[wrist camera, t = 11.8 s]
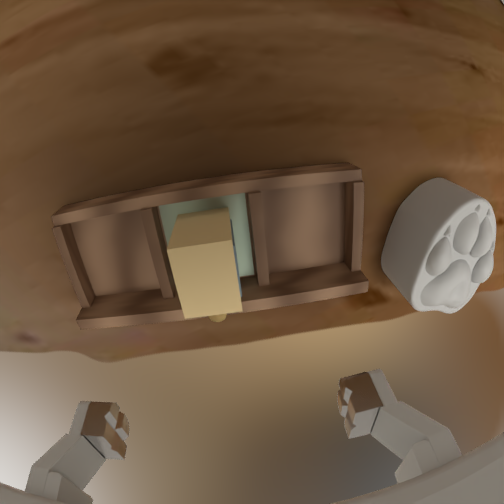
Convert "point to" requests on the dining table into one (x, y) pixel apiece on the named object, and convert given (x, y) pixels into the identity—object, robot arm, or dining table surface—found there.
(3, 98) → the dining table surface
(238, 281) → the frame block
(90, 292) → the brown divided tray
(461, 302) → the lumpy-topped squat cylinder
